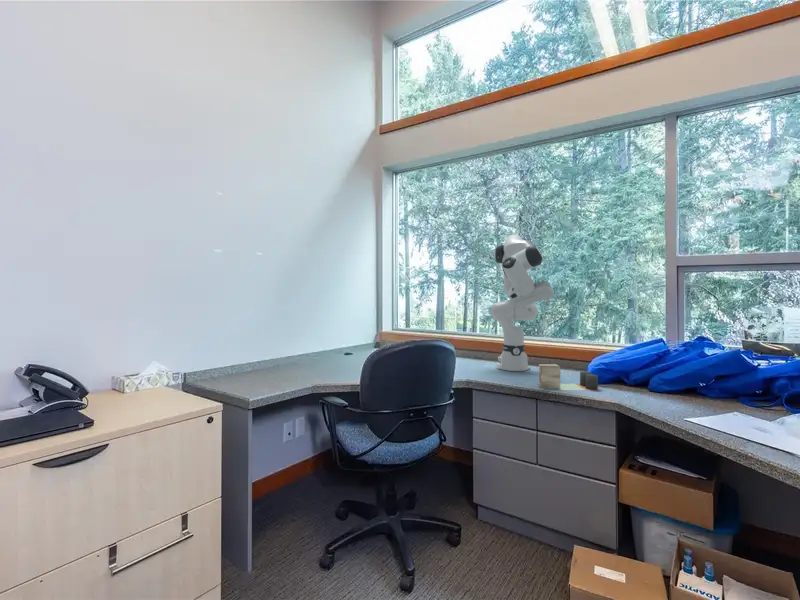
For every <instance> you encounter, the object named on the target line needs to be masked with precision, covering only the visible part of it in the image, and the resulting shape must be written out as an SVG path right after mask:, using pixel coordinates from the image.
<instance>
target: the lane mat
mask: <svg viewBox="0 0 800 600" xmlns="http://www.w3.org/2000/svg"><path fill="white" fill-rule="evenodd" d="M537 386H539V383H537ZM542 389H543V391H590V390H589V389H586V387H585V386H581V385H580V383H560V388H542ZM597 391H601V388H598V390H597Z"/></svg>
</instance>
